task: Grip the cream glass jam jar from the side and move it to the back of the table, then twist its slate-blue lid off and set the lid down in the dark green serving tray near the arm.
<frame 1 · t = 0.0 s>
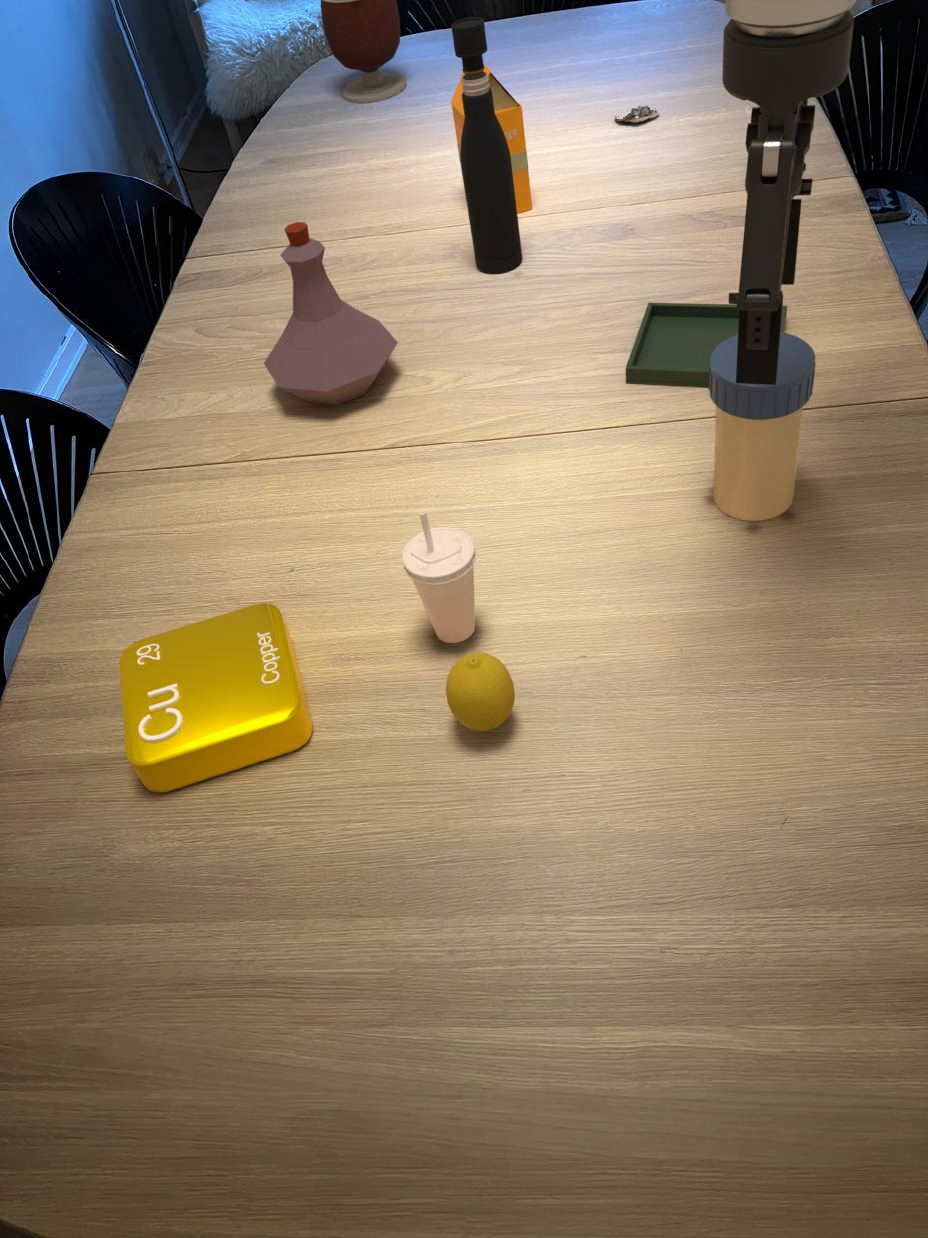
hand: (766, 329, 77), 25 cm above the table, tool pointing down, fingers open, 13 cm apart
element tile: (222, 710, 92), on the table
orange juice: (498, 206, 154), on the table
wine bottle: (499, 263, 142), on the table
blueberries: (637, 117, 169), on the table
jar: (752, 495, 101), on the table
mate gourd: (375, 92, 195), on the table
lemon: (487, 724, 87), on the table
flask: (339, 384, 127), on the table
tray: (707, 351, 119), on the table
lid: (762, 362, 90), point 15 cm above the table, screwed on, not yet turned
smoothie: (455, 629, 95), on the table
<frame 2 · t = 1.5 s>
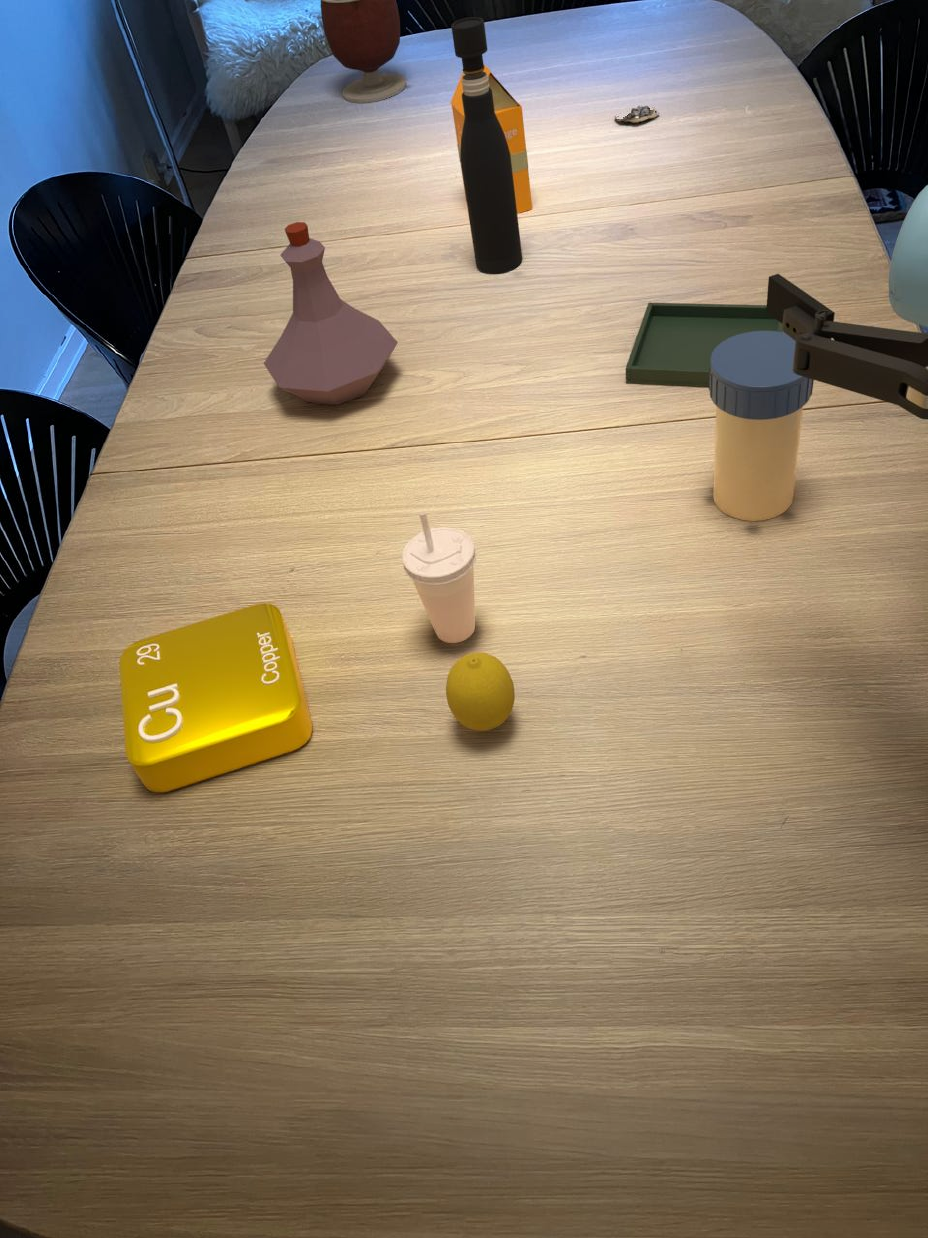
hand: (853, 264, 74), 28 cm above the table, tool horizontal, fingers open, 13 cm apart
nothing on the table moved.
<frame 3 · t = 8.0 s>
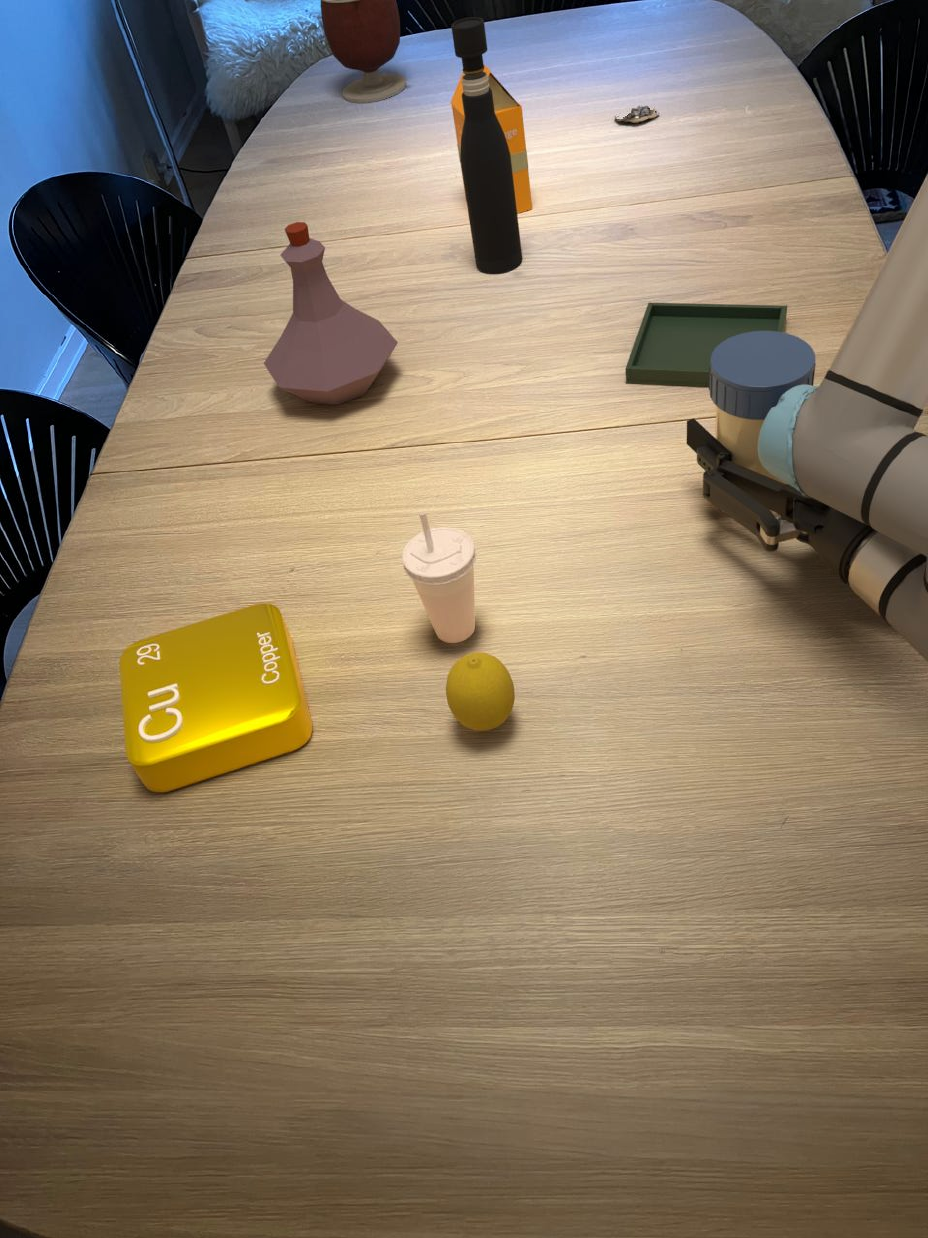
hand: (727, 416, 100), 6 cm above the table, tool horizontal, fingers closed on jar, 8 cm apart
jar: (753, 495, 101), on the table, touching gripper
everything else where it was.
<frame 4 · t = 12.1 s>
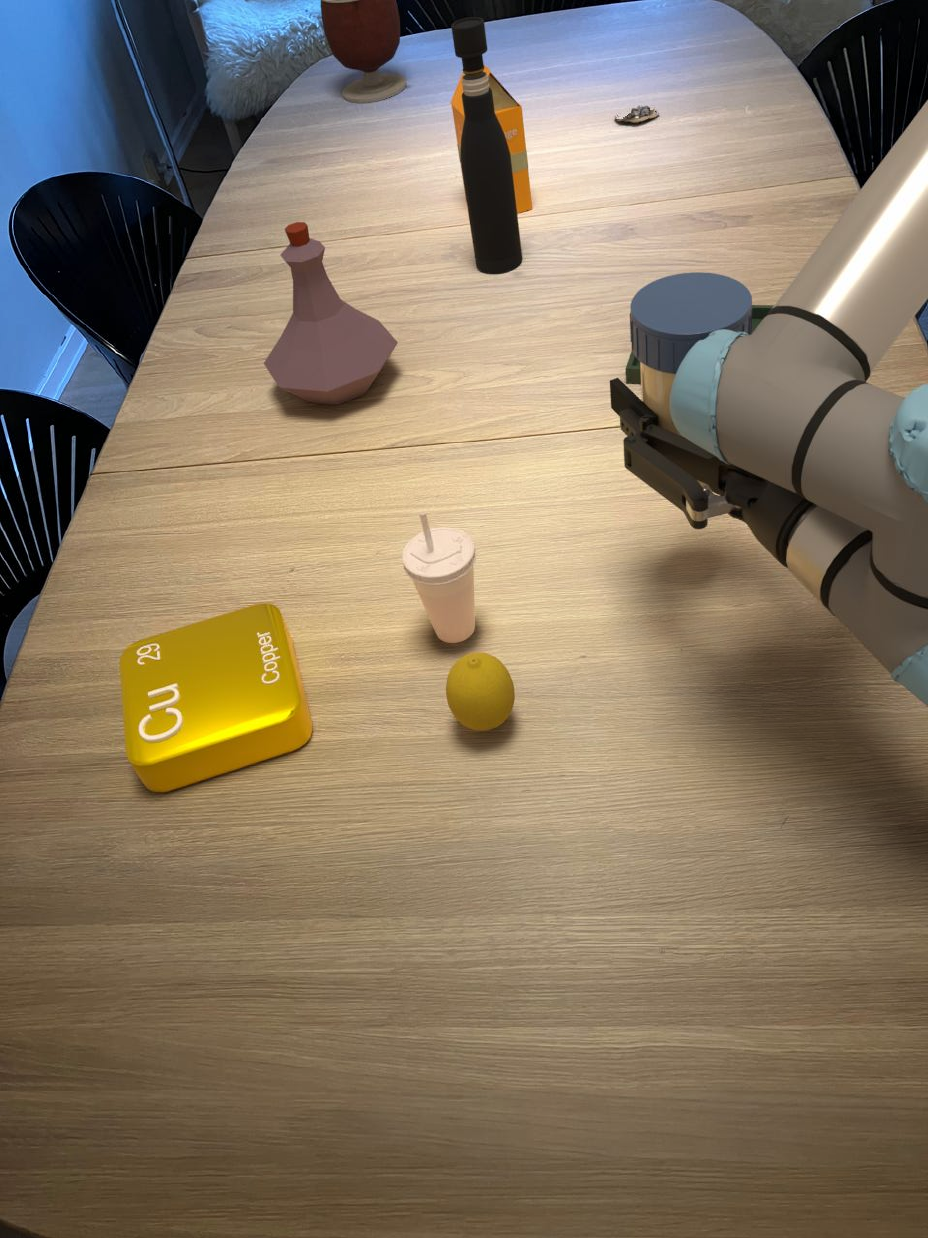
hand: (658, 376, 86), 18 cm above the table, tool horizontal, fingers closed on jar, 8 cm apart
jar: (688, 468, 88), point 12 cm above the table, touching gripper
lid: (690, 307, 77), point 27 cm above the table, screwed on, not yet turned
everything else where it was.
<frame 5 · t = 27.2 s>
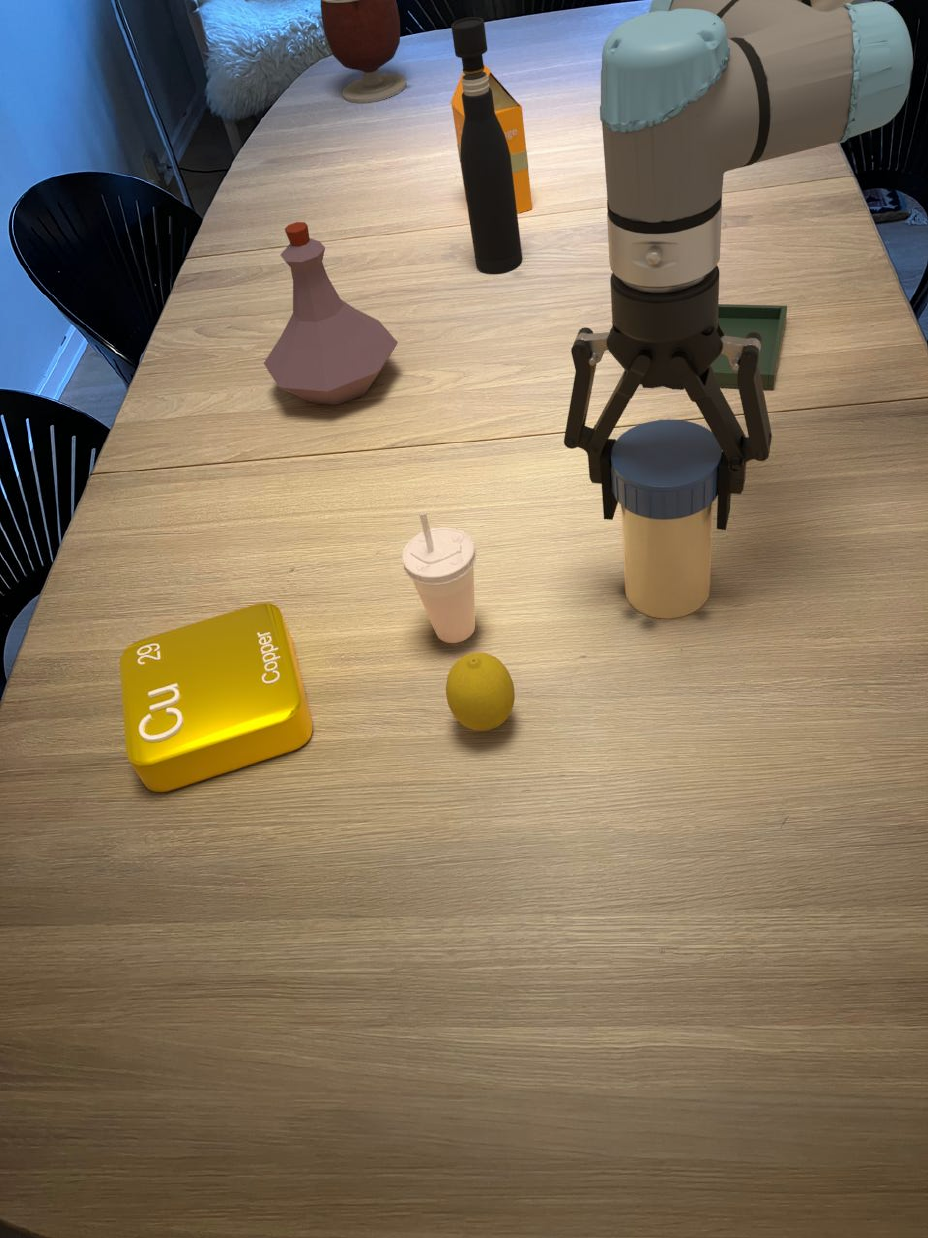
hand: (666, 513, 88), 9 cm above the table, tool pointing down, fingers closed on lid, 9 cm apart
jar: (667, 588, 94), on the table
lid: (665, 456, 83), point 15 cm above the table, screwed on, not yet turned, touching gripper
everything else where it was.
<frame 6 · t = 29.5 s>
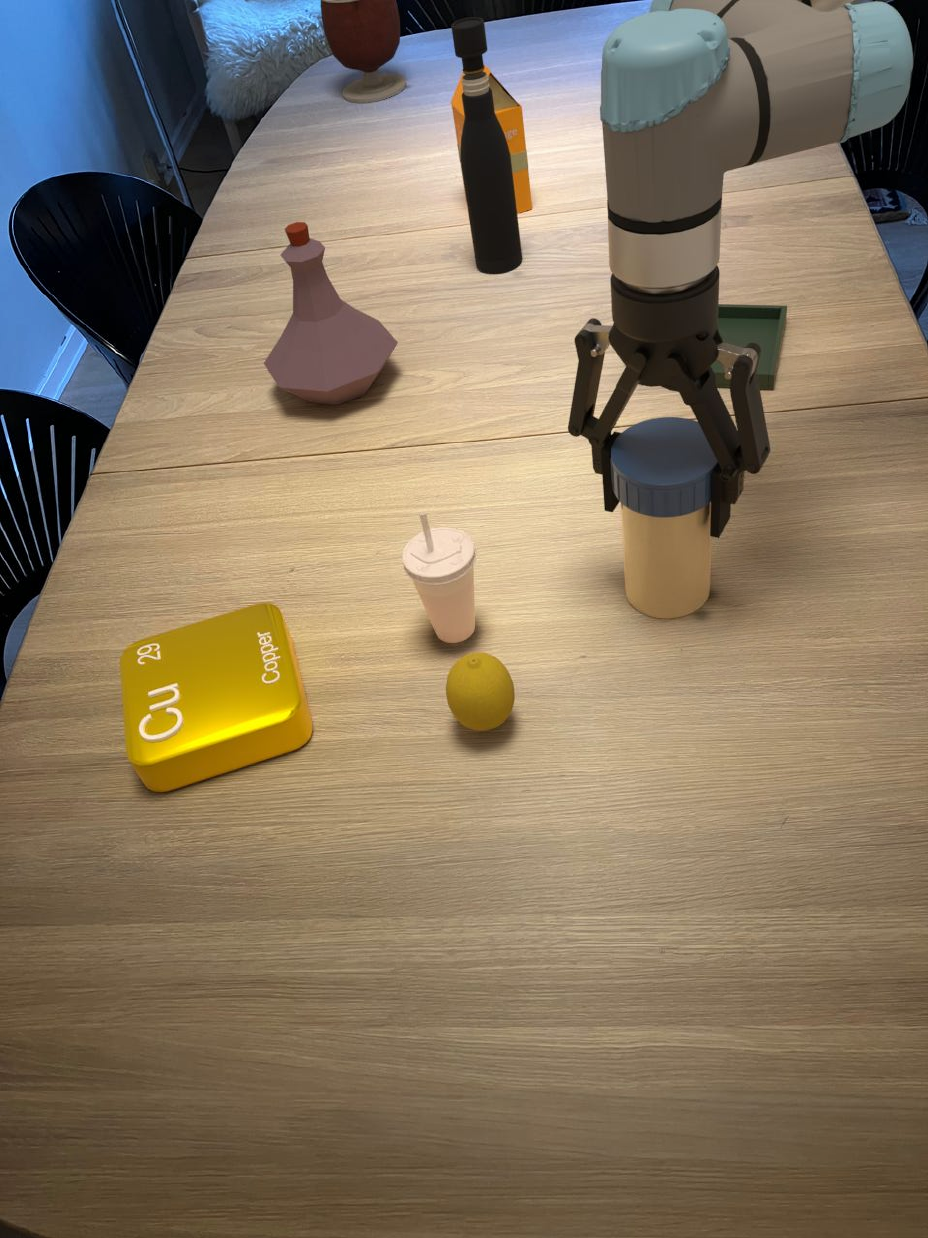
hand: (666, 513, 88), 9 cm above the table, tool pointing down, fingers closed on lid, 9 cm apart
lid: (666, 454, 83), point 15 cm above the table, off its thread, touching gripper
everything else where it was.
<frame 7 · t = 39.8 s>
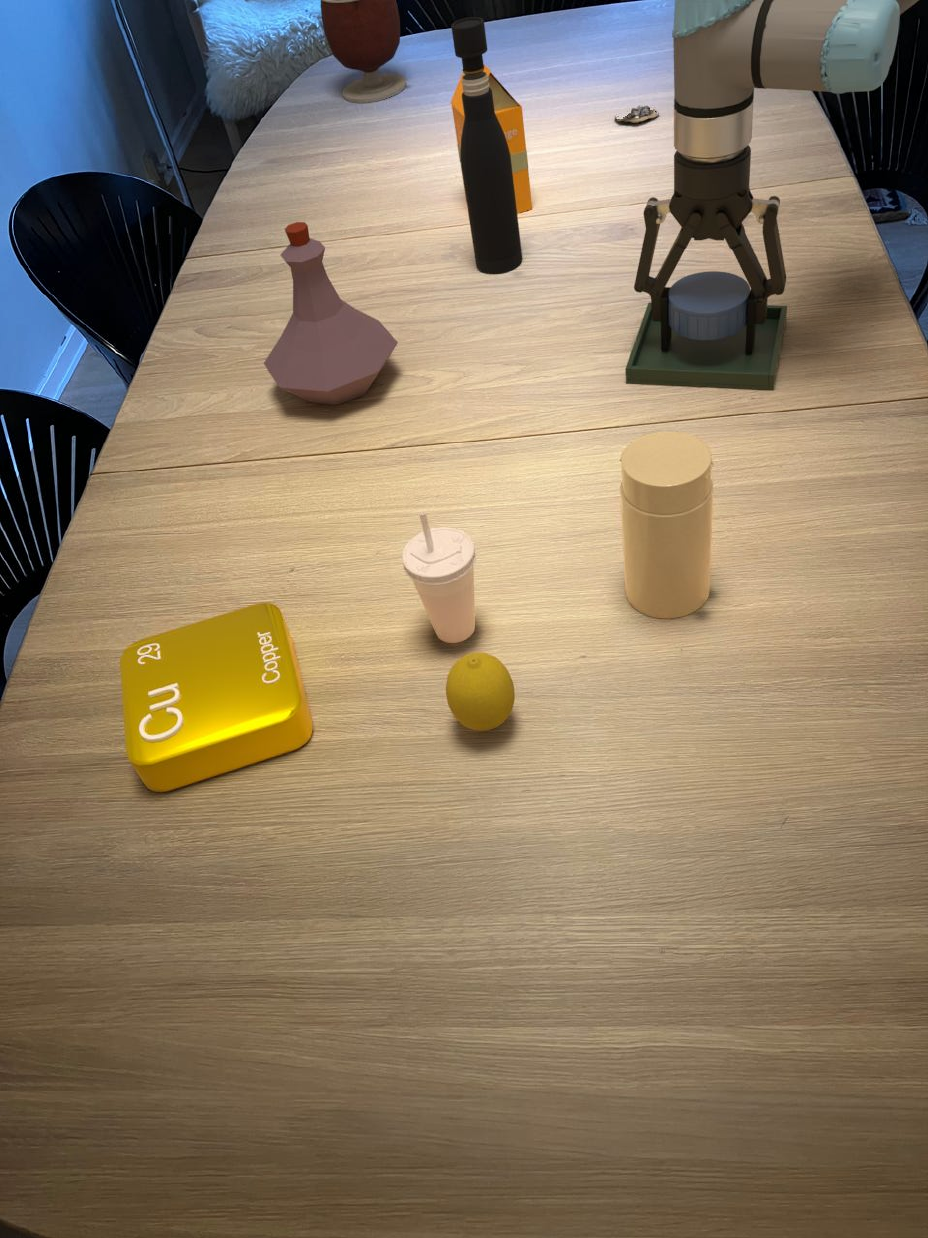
hand: (707, 345, 119), 1 cm above the table, tool pointing down, fingers closed on lid, 9 cm apart
lid: (708, 295, 114), point 7 cm above the table, off its thread, touching gripper
everything else where it was.
when the fingers open (2 cm above the table, at t = 49.9 s): lid drops 5 cm, resting on tray.
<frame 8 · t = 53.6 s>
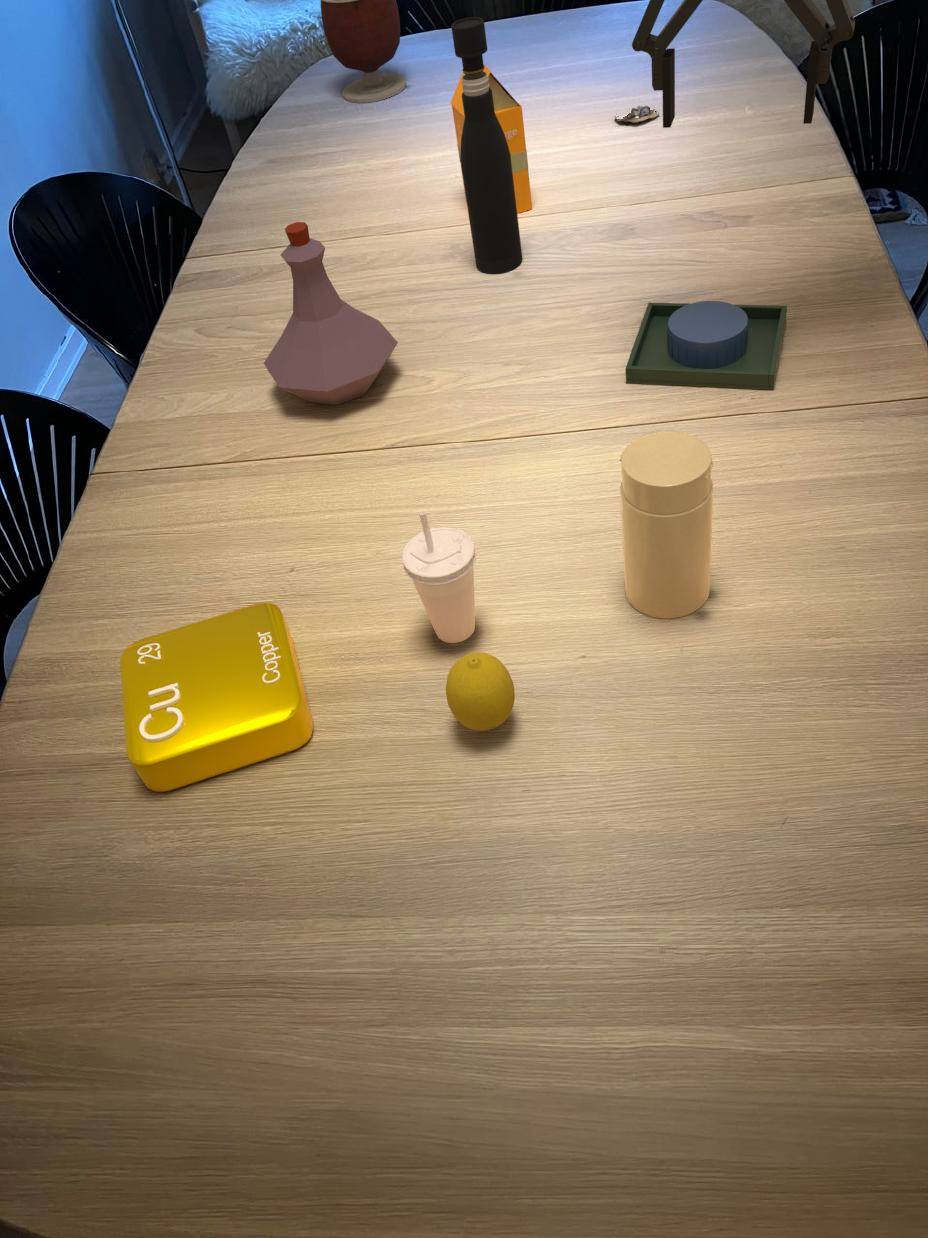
hand: (737, 120, 103), 25 cm above the table, tool pointing down, fingers open, 13 cm apart
lid: (707, 324, 117), point 3 cm above the table, off its thread, touching tray
everything else where it was.
at the end: jar inside the target area (0.0 cm from its centre), on the table; lid inside the target area on the tray (0.1 cm from its centre), point 3.4 cm above the tray's base; the gripper is holding nothing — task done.
